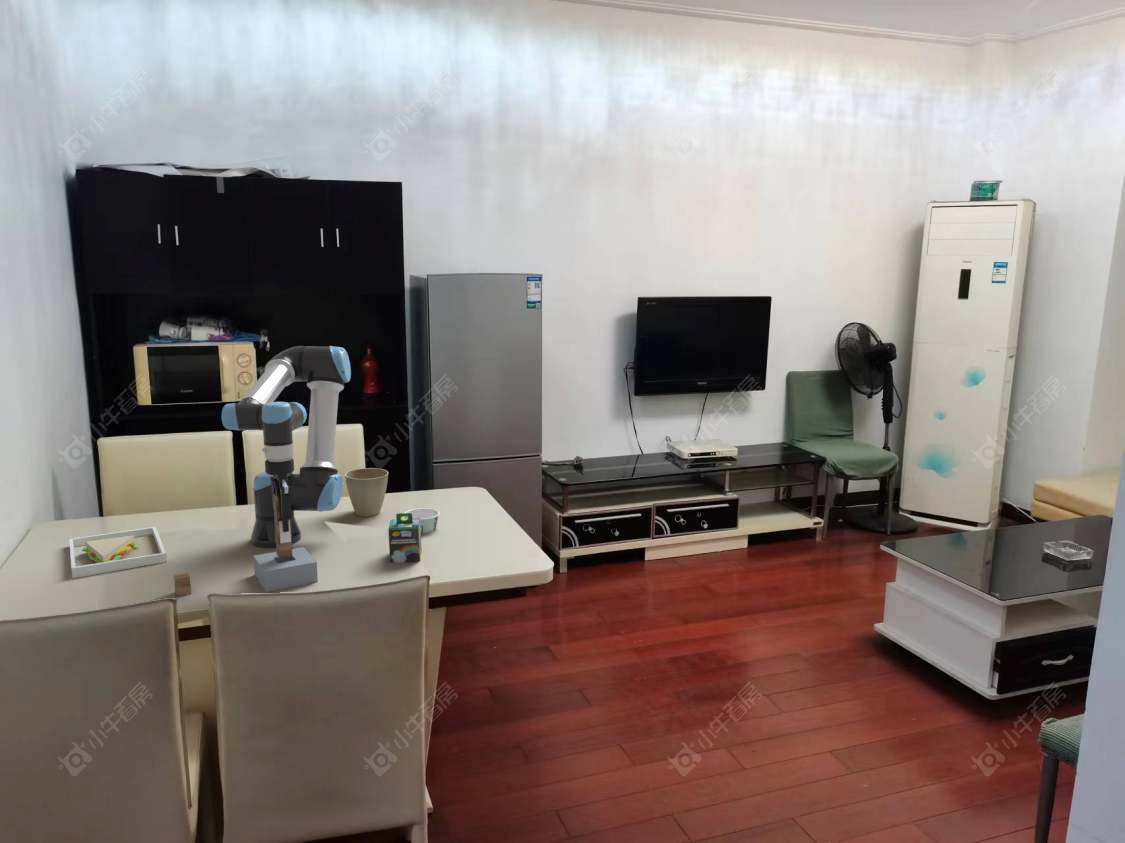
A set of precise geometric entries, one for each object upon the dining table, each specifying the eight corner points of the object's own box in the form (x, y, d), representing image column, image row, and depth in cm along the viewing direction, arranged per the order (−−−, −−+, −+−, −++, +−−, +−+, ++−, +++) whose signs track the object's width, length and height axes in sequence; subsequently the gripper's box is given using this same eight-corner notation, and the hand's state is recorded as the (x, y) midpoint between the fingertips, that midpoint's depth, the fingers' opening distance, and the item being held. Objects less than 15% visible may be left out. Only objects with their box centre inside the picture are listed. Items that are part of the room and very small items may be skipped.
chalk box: (421, 553, 246) (420, 507, 244) (420, 563, 237) (419, 516, 235) (391, 554, 245) (390, 508, 242) (389, 564, 236) (387, 517, 233)
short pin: (175, 592, 214) (173, 574, 214) (189, 589, 216) (188, 572, 215) (177, 596, 212) (175, 579, 211) (191, 593, 213) (189, 576, 212)
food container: (443, 527, 271) (443, 508, 270) (434, 538, 260) (434, 519, 258) (409, 525, 273) (409, 507, 271) (399, 537, 261) (398, 518, 260)
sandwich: (63, 576, 226) (61, 559, 225) (88, 552, 244) (86, 537, 244) (122, 572, 229) (120, 556, 228) (142, 549, 248) (141, 534, 247)
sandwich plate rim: (70, 548, 247) (69, 538, 246) (156, 535, 259) (155, 526, 259) (72, 578, 223) (71, 568, 222) (167, 562, 235) (166, 553, 235)
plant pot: (338, 520, 277) (336, 476, 274) (360, 508, 291) (359, 466, 288) (376, 525, 272) (374, 480, 269) (397, 512, 286) (396, 470, 283)
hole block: (254, 575, 226) (253, 555, 225) (304, 566, 234) (303, 547, 233) (265, 592, 215) (264, 571, 214) (317, 582, 222) (316, 561, 221)
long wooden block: (276, 554, 224) (272, 493, 220) (289, 552, 225) (285, 491, 222) (279, 558, 221) (275, 496, 217) (292, 556, 223) (289, 494, 219)
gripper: (258, 454, 223) (263, 533, 227) (272, 466, 209) (276, 551, 213) (285, 451, 227) (290, 529, 231) (301, 463, 213) (305, 546, 217)
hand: (283, 539), depth 222 cm, fingers closed on long wooden block, 3 cm apart
